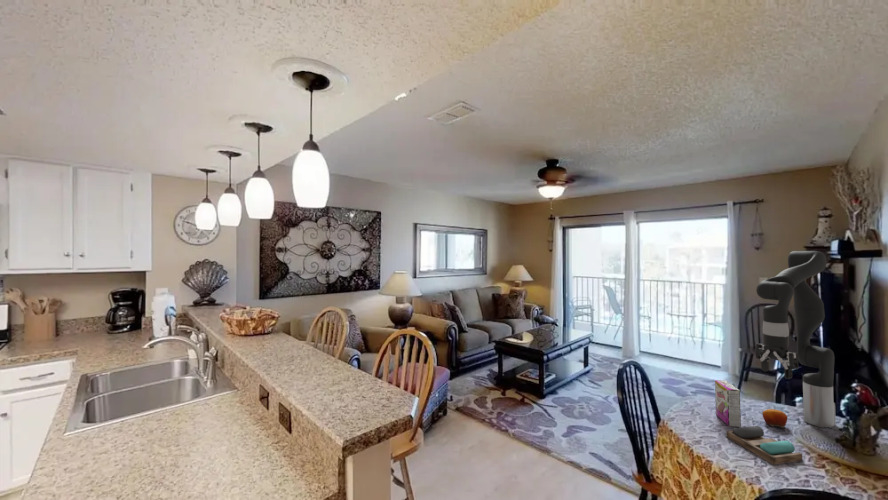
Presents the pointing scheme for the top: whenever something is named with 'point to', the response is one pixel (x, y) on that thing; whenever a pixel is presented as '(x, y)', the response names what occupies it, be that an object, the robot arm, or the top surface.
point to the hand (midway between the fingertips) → (776, 374)
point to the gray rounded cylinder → (748, 432)
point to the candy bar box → (728, 403)
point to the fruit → (775, 418)
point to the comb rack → (754, 447)
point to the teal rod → (778, 447)
